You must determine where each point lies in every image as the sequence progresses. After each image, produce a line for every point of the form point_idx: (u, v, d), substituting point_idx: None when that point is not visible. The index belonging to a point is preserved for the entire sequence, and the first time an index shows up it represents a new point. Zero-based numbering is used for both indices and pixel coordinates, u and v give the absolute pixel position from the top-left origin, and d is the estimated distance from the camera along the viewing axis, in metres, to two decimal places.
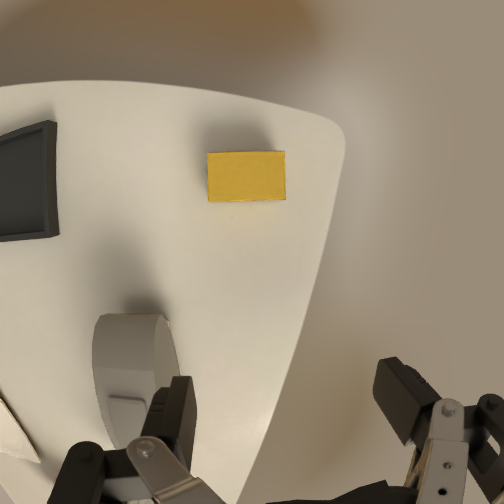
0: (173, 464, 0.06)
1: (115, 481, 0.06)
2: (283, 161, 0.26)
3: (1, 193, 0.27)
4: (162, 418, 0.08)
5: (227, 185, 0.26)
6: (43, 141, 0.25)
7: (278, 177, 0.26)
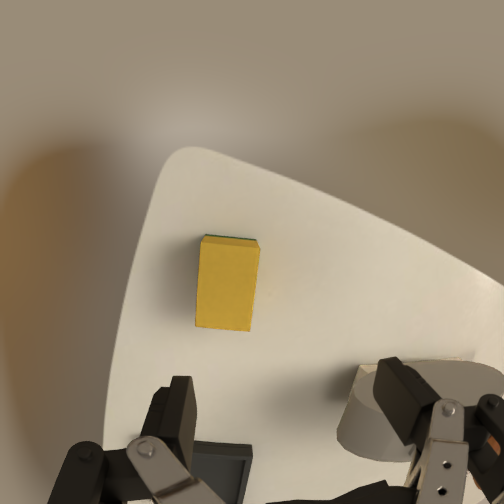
0: (173, 464, 0.06)
1: (115, 481, 0.06)
2: (213, 244, 0.22)
3: None
4: (162, 418, 0.08)
5: (234, 310, 0.23)
6: None
7: (233, 254, 0.22)
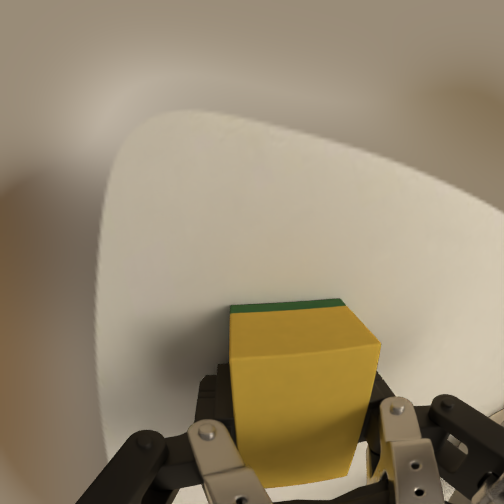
0: (229, 449, 0.07)
1: (170, 472, 0.06)
2: (264, 360, 0.08)
3: None
4: (216, 402, 0.09)
5: (319, 460, 0.09)
6: None
7: (317, 370, 0.08)
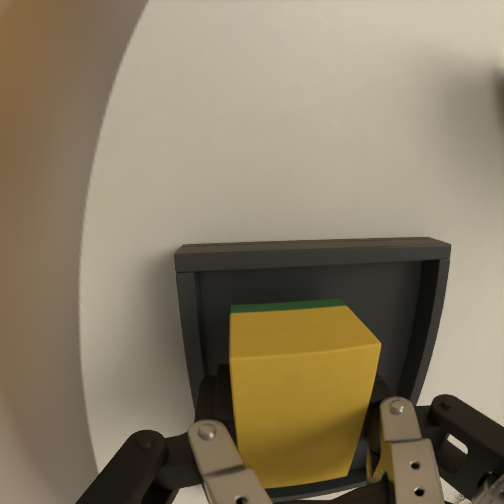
0: (229, 449, 0.07)
1: (170, 472, 0.06)
2: (264, 360, 0.08)
3: None
4: (216, 402, 0.09)
5: (320, 460, 0.09)
6: (235, 263, 0.12)
7: (317, 370, 0.08)
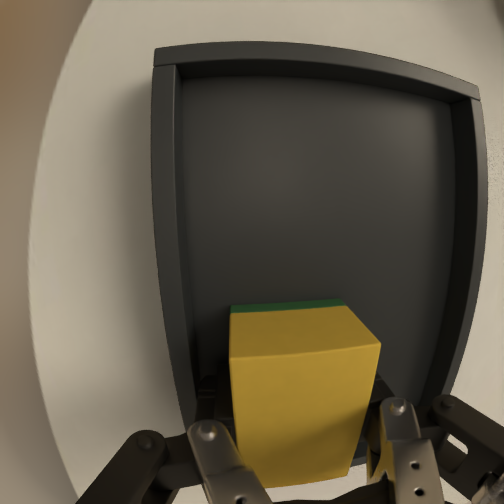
0: (229, 449, 0.07)
1: (170, 472, 0.06)
2: (264, 360, 0.08)
3: (352, 298, 0.12)
4: (216, 402, 0.09)
5: (320, 460, 0.09)
6: (227, 52, 0.08)
7: (317, 371, 0.08)
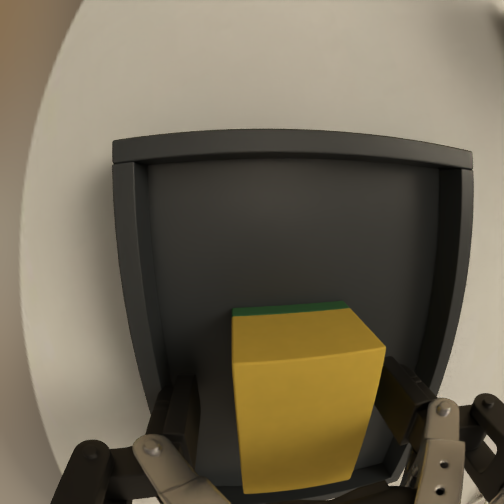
0: (178, 462, 0.06)
1: (120, 480, 0.06)
2: (268, 365, 0.08)
3: None
4: (167, 416, 0.08)
5: (323, 464, 0.09)
6: (187, 146, 0.09)
7: (321, 375, 0.08)
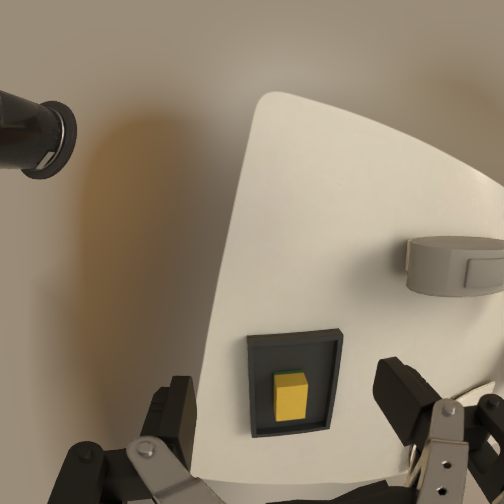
0: (173, 464, 0.06)
1: (115, 481, 0.06)
2: (283, 387, 0.38)
3: None
4: (162, 418, 0.08)
5: (296, 411, 0.40)
6: (266, 345, 0.39)
7: (294, 389, 0.39)
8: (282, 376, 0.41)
